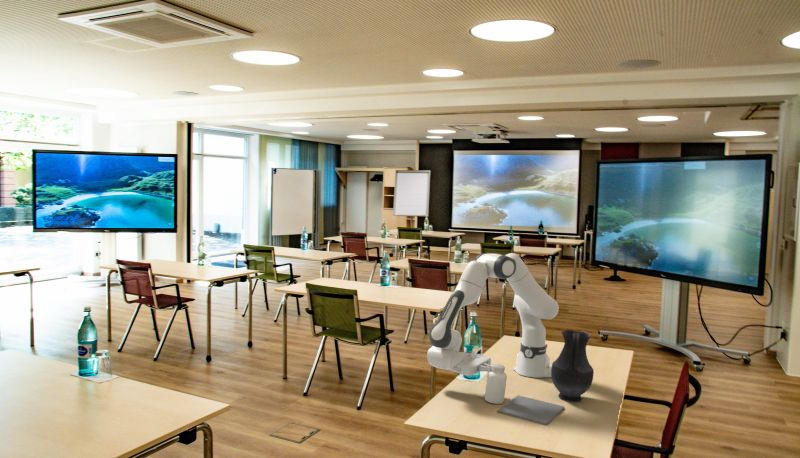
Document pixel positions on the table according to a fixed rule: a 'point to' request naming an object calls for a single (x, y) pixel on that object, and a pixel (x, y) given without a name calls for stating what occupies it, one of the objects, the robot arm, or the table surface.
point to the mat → (531, 409)
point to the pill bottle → (496, 384)
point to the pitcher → (572, 367)
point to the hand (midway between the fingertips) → (491, 369)
